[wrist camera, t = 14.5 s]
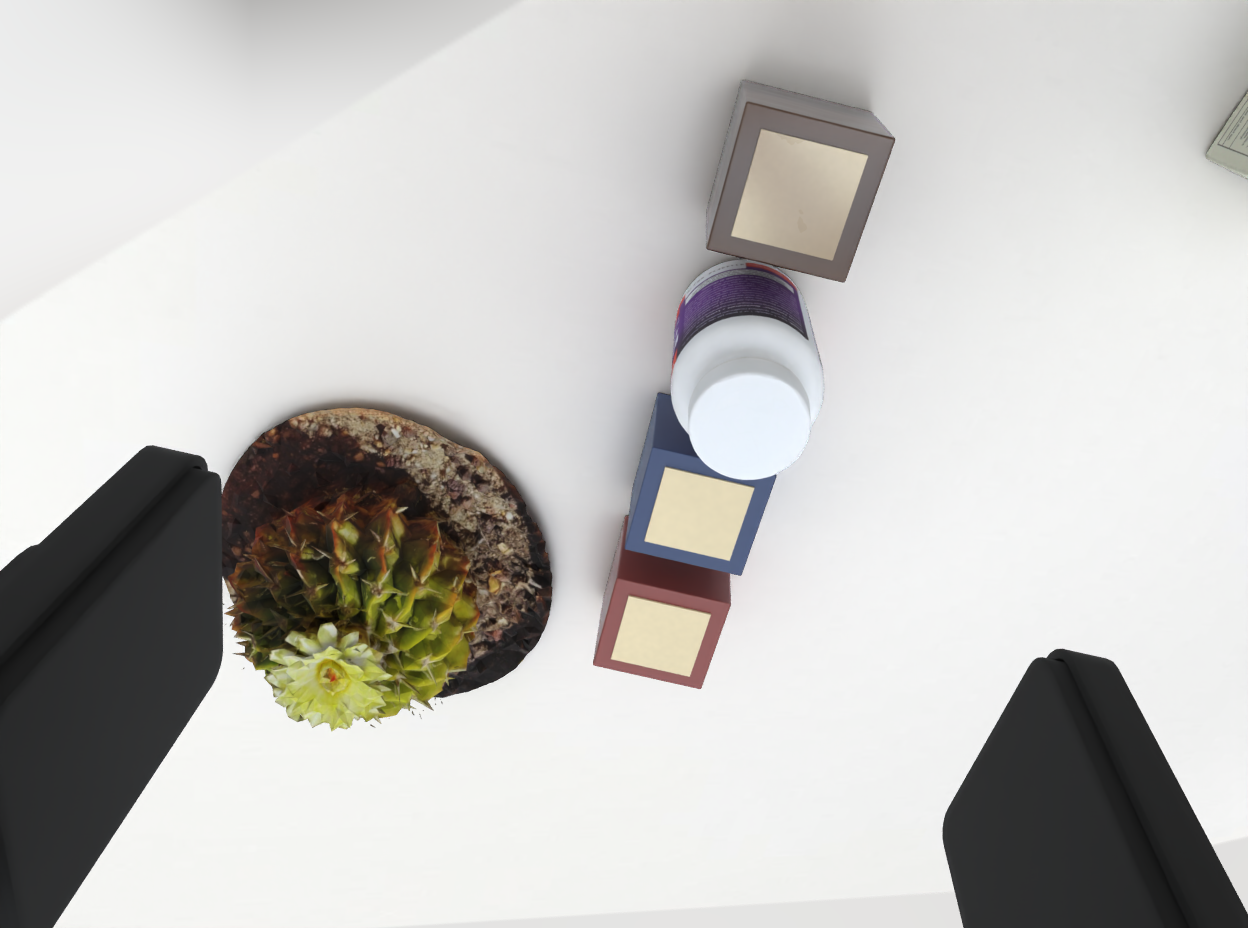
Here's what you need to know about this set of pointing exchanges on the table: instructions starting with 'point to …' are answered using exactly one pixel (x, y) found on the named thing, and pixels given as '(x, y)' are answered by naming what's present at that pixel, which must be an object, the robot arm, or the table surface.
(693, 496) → the block
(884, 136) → the block
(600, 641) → the block
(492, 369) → the table surface
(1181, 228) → the table surface
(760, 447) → the pill bottle
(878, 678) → the table surface
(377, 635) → the cactus
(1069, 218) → the table surface
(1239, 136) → the cosmetic box
